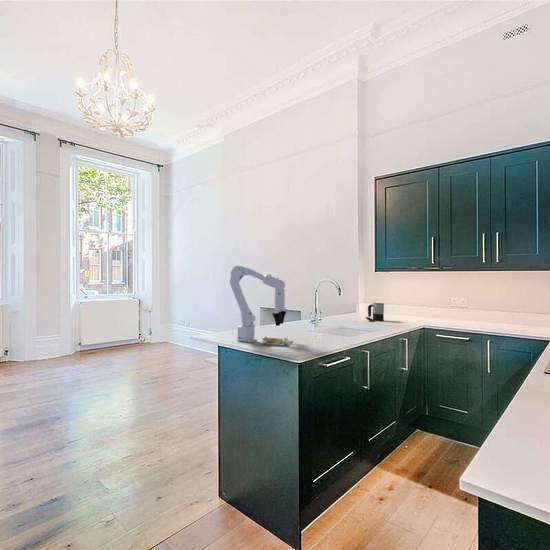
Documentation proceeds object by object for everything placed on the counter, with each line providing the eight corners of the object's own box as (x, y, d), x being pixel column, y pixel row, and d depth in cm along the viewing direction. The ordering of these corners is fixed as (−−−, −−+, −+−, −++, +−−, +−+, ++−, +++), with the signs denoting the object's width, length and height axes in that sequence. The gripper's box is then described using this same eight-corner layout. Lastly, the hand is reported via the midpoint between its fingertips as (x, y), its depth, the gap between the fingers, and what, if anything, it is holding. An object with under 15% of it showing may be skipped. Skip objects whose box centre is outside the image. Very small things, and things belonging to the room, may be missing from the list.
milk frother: (384, 320, 302) (384, 303, 302) (382, 322, 288) (382, 304, 288) (367, 319, 308) (367, 302, 308) (364, 321, 293) (365, 303, 293)
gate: (263, 342, 196) (263, 337, 196) (264, 342, 197) (264, 336, 197) (281, 344, 193) (281, 338, 193) (282, 343, 195) (282, 337, 195)
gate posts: (261, 345, 193) (261, 338, 193) (262, 344, 196) (262, 337, 196) (287, 346, 192) (287, 338, 192) (287, 345, 195) (287, 337, 195)
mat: (260, 345, 194) (260, 344, 194) (268, 340, 209) (268, 339, 209) (287, 347, 190) (287, 346, 190) (293, 341, 205) (293, 341, 205)
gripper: (283, 302, 196) (283, 326, 196) (289, 300, 210) (288, 323, 210) (271, 301, 198) (271, 326, 198) (277, 299, 212) (277, 322, 212)
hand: (279, 324), depth 204 cm, fingers open, 7 cm apart
